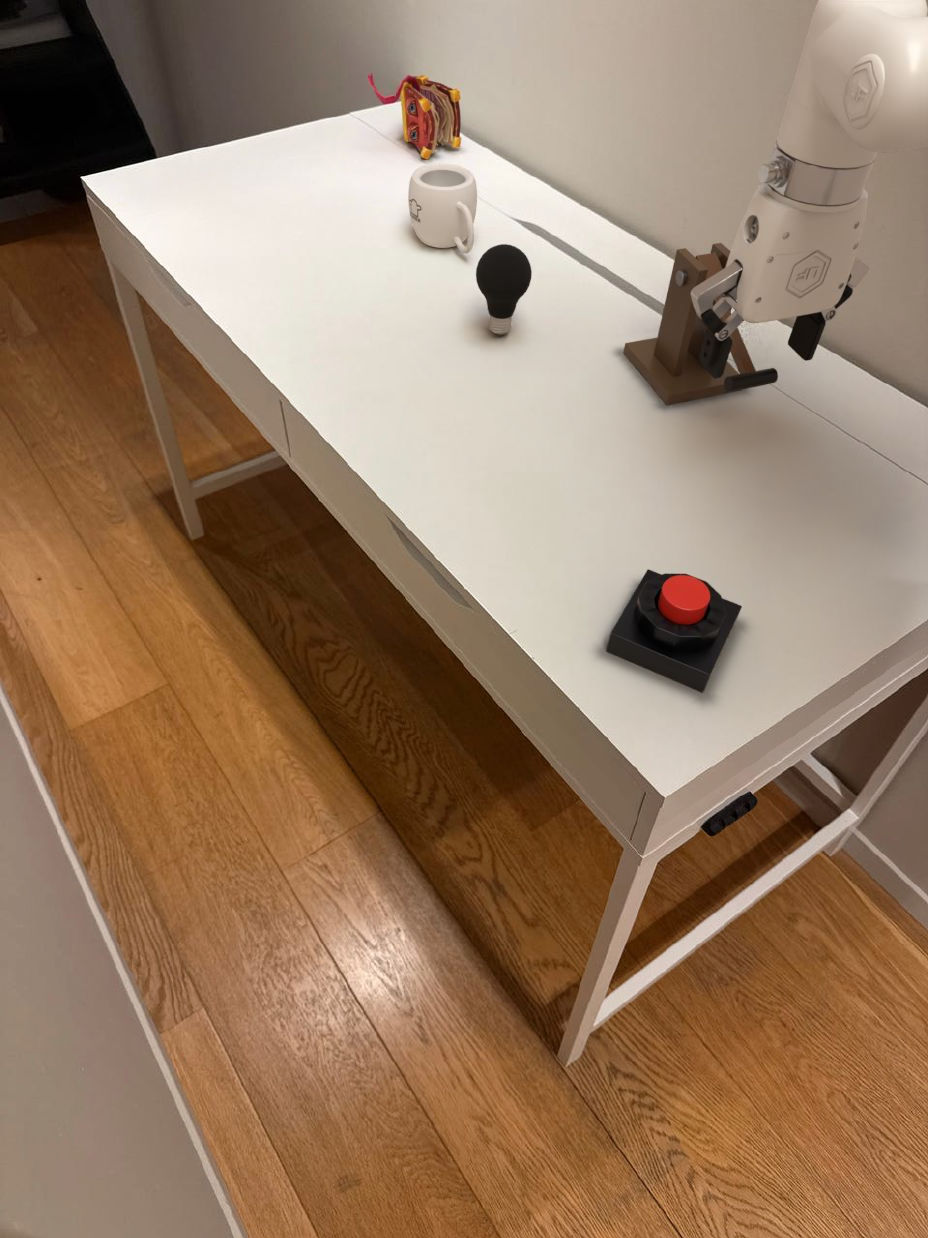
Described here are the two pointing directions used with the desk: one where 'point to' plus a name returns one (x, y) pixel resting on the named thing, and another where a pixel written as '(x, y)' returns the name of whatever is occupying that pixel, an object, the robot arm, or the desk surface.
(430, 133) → the book monster
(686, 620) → the button
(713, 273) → the lever
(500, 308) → the light bulb
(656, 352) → the bracket
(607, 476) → the desk surface
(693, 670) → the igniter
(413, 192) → the mug
